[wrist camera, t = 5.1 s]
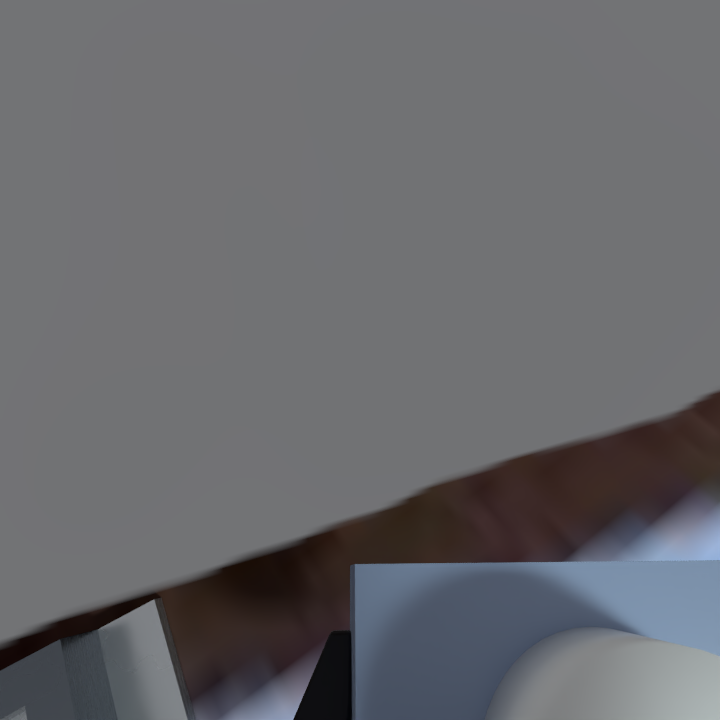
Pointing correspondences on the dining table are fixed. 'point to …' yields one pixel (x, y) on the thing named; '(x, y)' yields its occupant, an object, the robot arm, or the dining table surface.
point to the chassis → (102, 675)
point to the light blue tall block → (536, 641)
